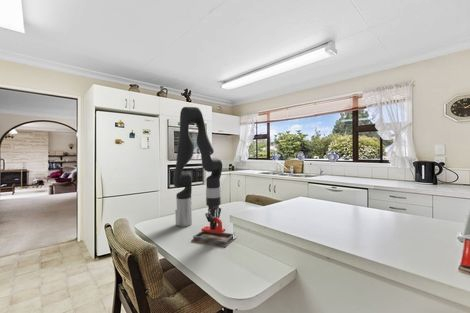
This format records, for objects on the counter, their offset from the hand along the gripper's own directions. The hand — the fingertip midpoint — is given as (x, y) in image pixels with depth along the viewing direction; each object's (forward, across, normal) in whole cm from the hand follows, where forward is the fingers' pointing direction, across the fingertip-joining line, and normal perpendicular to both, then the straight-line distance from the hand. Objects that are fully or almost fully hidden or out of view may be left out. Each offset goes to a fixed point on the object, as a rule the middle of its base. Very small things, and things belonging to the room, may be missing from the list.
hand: (213, 228), depth 116 cm
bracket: (+2, +2, +1) cm, 3 cm away
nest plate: (+6, 0, 0) cm, 6 cm away
